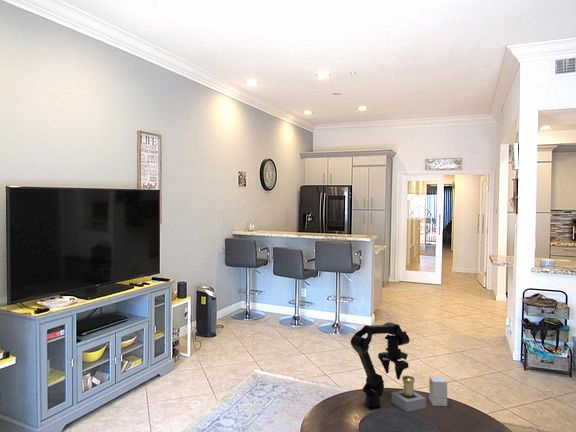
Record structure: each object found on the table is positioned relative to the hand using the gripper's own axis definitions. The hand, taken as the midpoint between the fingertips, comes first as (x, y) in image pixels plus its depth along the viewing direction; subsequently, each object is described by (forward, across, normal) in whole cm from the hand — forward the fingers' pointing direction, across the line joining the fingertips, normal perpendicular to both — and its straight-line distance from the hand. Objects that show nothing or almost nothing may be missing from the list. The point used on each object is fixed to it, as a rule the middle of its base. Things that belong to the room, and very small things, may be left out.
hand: (392, 376), depth 217 cm
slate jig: (+12, -9, -3) cm, 15 cm away
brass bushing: (+11, -9, -3) cm, 15 cm away
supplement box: (+12, -13, -19) cm, 26 cm away
